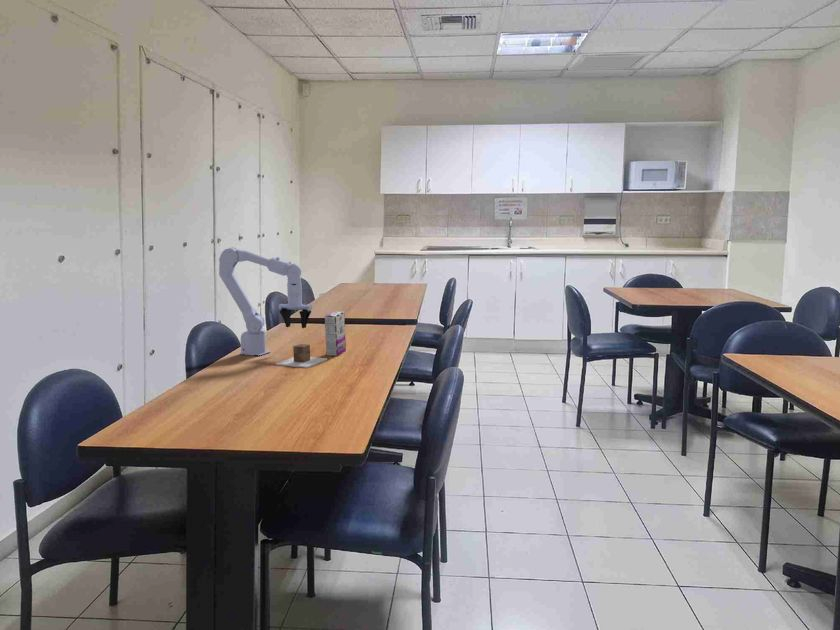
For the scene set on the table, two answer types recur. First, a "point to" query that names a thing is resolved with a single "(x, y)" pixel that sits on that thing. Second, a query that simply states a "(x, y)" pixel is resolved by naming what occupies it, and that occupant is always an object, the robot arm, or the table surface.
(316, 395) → the table surface
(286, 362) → the pad
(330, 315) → the candy bar box
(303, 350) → the walnut block
